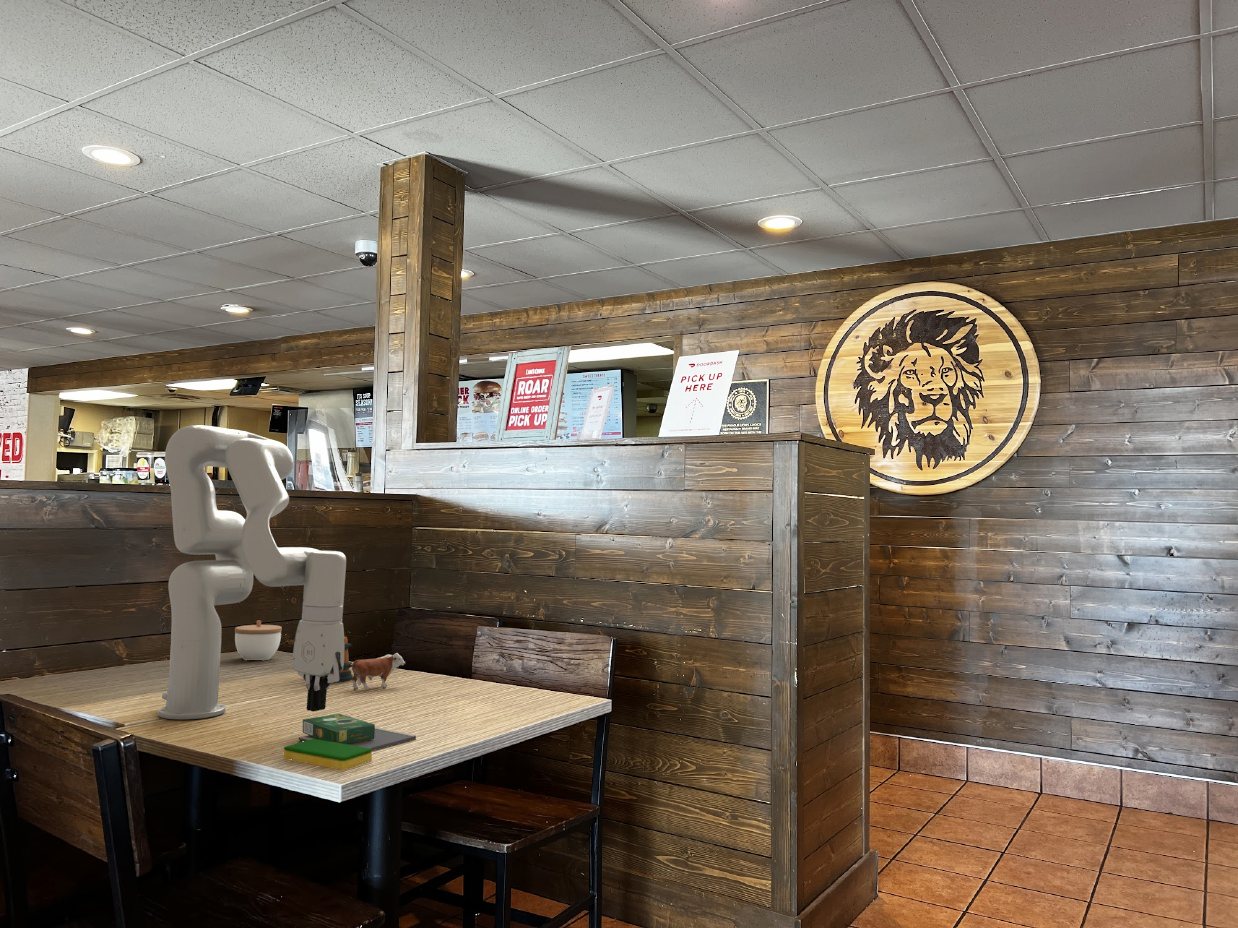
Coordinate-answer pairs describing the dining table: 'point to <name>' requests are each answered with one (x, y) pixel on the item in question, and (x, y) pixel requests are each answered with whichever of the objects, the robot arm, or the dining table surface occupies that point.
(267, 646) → the lidded bowl
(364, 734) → the coffee box
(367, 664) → the bull figurine
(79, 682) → the dining table surface
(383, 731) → the mat
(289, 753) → the dish sponge
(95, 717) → the dining table surface
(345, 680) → the mug
